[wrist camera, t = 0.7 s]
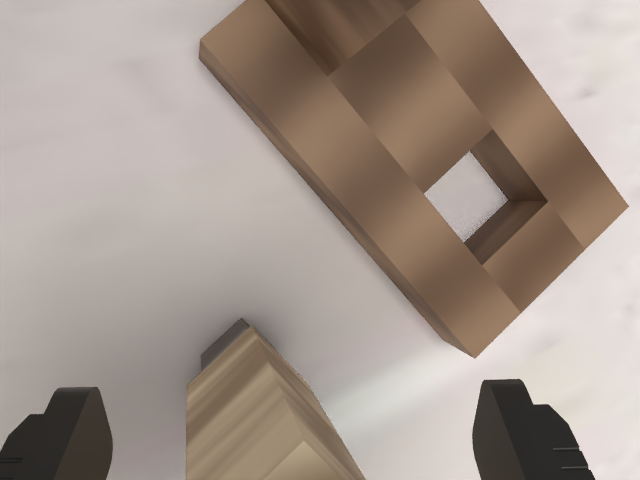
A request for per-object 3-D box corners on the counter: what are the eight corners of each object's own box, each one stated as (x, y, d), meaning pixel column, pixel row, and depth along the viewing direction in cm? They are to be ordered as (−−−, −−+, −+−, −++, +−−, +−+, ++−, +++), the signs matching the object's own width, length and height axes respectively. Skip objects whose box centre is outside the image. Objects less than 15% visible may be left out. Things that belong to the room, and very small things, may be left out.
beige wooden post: (187, 355, 32) (184, 556, 15) (242, 305, 33) (303, 440, 15) (237, 405, 33) (291, 652, 15) (290, 355, 33) (402, 540, 16)
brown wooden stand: (192, 50, 31) (198, -245, 10) (359, -93, 32) (683, -627, 11) (443, 339, 35) (817, 563, 14) (581, 204, 36) (1115, 226, 15)
